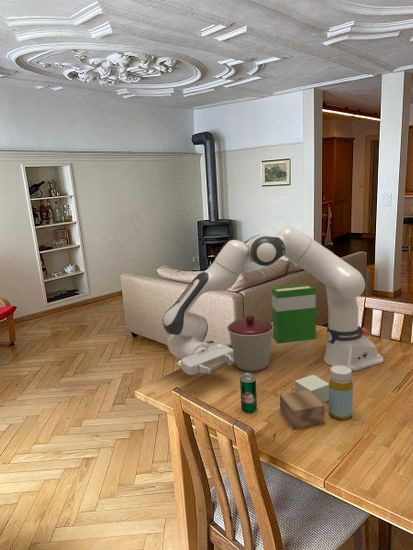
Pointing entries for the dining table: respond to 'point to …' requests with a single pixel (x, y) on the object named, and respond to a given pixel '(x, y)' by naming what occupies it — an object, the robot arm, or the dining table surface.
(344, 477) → the dining table surface
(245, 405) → the soda can
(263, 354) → the canister
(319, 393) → the sage block
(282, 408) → the walnut block
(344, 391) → the bottle
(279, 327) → the green cereal box
